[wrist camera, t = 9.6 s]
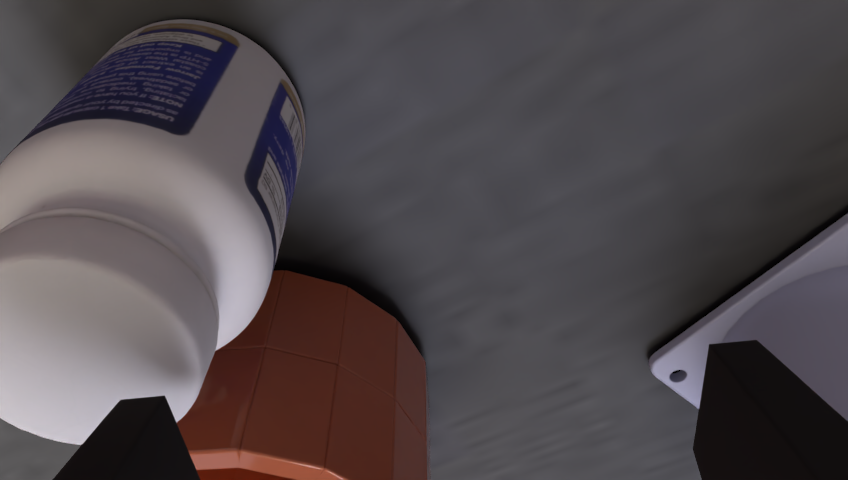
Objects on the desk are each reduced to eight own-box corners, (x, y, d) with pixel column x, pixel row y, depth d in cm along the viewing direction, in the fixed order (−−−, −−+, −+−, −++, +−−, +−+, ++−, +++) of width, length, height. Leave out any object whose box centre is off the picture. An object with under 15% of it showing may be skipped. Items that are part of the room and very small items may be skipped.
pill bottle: (59, 127, 19) (-170, 372, 12) (166, -34, 17) (-30, 141, 9) (234, 241, 21) (135, 513, 14) (351, 111, 19) (308, 349, 11)
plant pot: (487, 364, 24) (510, 568, 18) (313, 505, 27) (285, 710, 22) (242, 200, 20) (171, 386, 14) (83, 387, 24) (-24, 593, 18)
